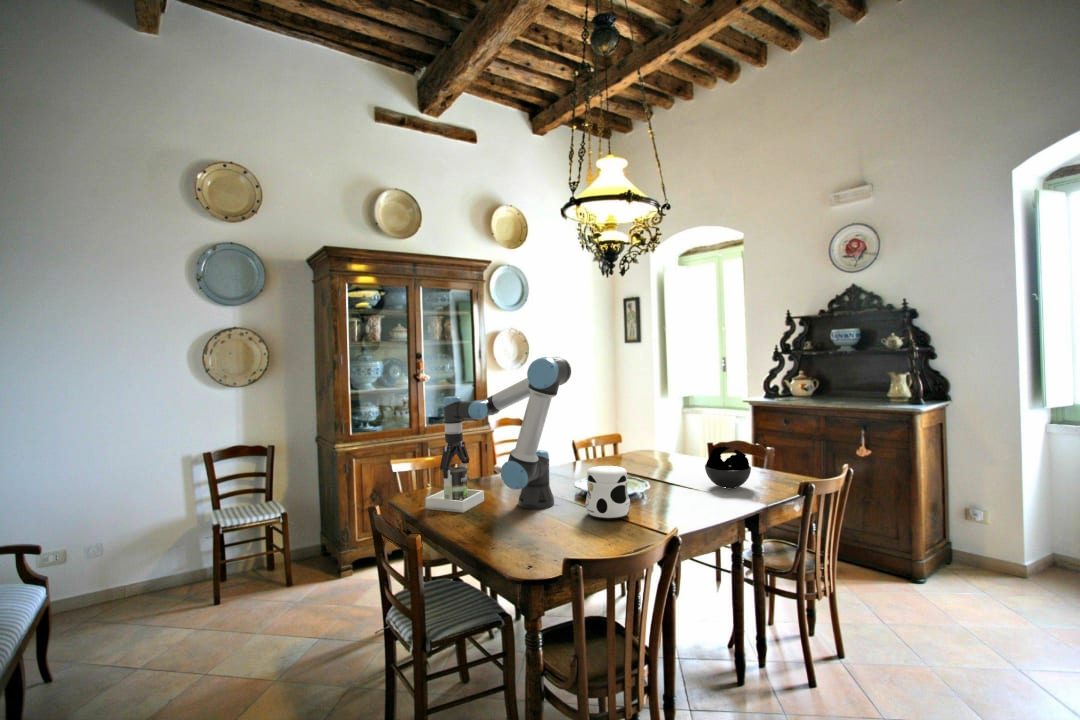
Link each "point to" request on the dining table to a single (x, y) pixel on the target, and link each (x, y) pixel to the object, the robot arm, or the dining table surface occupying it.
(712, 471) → the coal bowl
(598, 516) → the milk container
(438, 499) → the bin
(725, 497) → the dining table surface
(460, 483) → the coffee can
